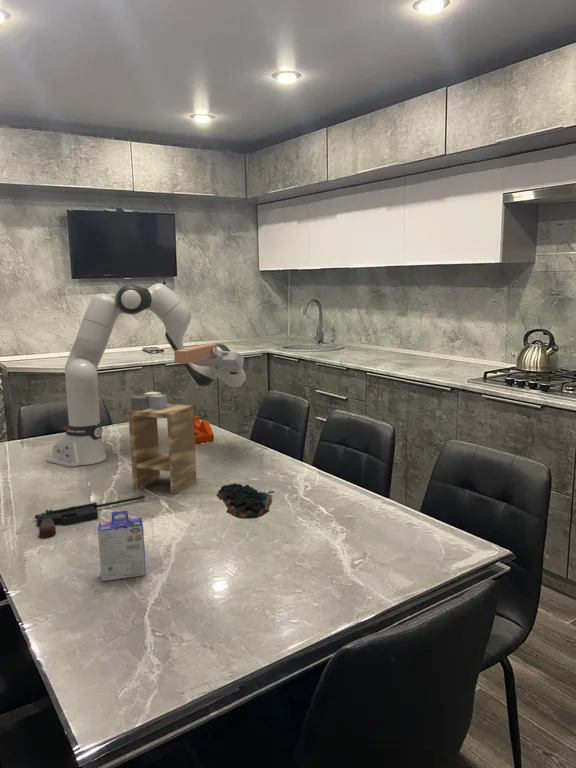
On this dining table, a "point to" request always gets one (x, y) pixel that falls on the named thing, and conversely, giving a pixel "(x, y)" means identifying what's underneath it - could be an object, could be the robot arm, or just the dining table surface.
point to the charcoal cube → (140, 403)
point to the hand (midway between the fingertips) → (205, 349)
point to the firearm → (70, 516)
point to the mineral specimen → (245, 501)
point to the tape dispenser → (202, 431)
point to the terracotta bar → (194, 353)
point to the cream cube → (151, 394)
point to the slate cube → (158, 401)
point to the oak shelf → (147, 447)
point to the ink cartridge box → (121, 547)
